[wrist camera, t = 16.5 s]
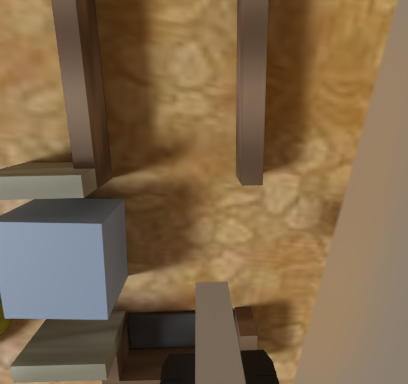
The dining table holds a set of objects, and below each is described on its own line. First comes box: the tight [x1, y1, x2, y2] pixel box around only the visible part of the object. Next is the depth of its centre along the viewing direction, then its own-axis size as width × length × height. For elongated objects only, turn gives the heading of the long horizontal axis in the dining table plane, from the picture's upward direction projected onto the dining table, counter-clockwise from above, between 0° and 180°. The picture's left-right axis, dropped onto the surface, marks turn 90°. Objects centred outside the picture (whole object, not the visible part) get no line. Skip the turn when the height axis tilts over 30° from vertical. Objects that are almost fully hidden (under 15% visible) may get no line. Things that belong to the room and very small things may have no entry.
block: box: [0, 198, 128, 320], centre depth 19 cm, size 6×6×5 cm
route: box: [0, 0, 269, 384], centre depth 17 cm, size 32×15×5 cm, turn 1°
